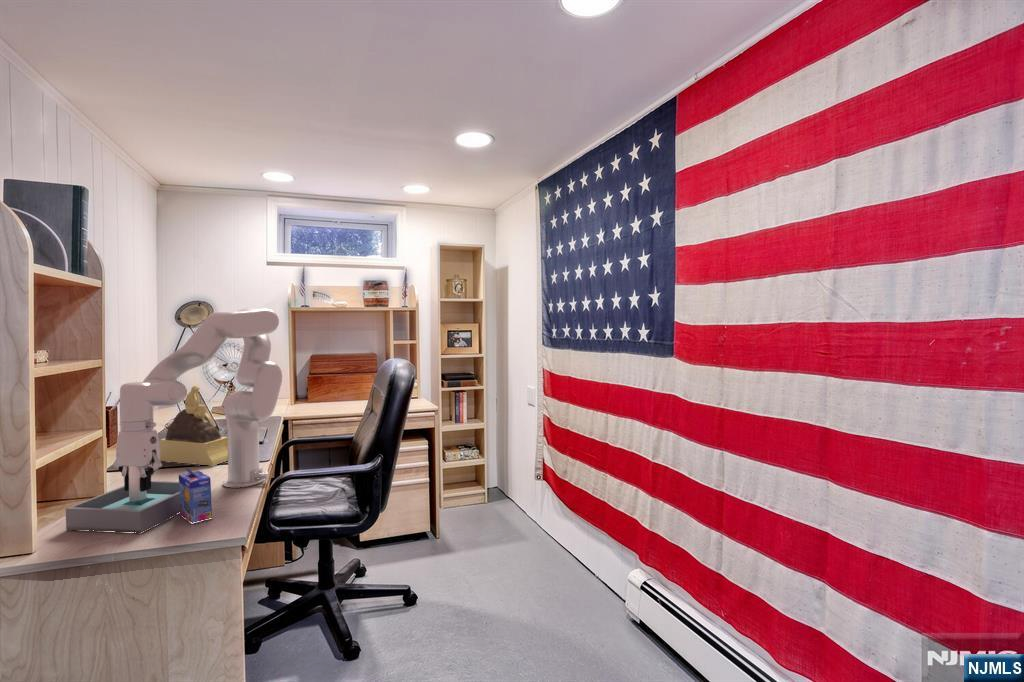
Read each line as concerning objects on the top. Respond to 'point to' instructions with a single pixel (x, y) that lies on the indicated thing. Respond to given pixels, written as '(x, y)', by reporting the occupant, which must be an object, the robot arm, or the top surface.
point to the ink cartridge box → (195, 496)
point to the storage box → (125, 509)
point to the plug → (135, 484)
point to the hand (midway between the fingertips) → (137, 489)
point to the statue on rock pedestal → (194, 436)
